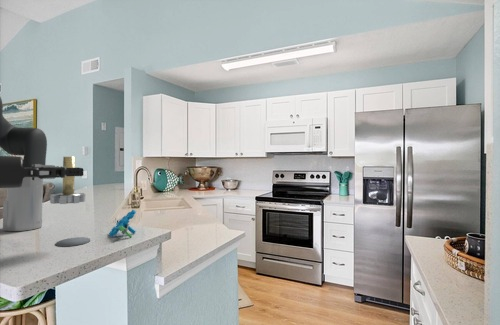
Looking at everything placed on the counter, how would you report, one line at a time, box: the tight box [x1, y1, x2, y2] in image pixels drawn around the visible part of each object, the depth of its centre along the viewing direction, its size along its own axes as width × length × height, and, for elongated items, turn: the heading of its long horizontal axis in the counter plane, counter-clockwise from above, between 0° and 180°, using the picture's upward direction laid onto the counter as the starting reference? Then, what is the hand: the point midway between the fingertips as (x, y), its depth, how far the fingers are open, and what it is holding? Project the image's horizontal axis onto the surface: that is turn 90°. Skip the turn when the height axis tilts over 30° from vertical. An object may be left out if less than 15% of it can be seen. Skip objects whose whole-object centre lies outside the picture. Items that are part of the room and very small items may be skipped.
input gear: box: [49, 156, 86, 205], centre depth 73 cm, size 8×8×12 cm
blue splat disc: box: [108, 209, 137, 238], centre depth 85 cm, size 11×6×10 cm
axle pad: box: [55, 236, 91, 248], centre depth 76 cm, size 8×8×1 cm
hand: (81, 171), depth 75 cm, fingers closed on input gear, 2 cm apart
